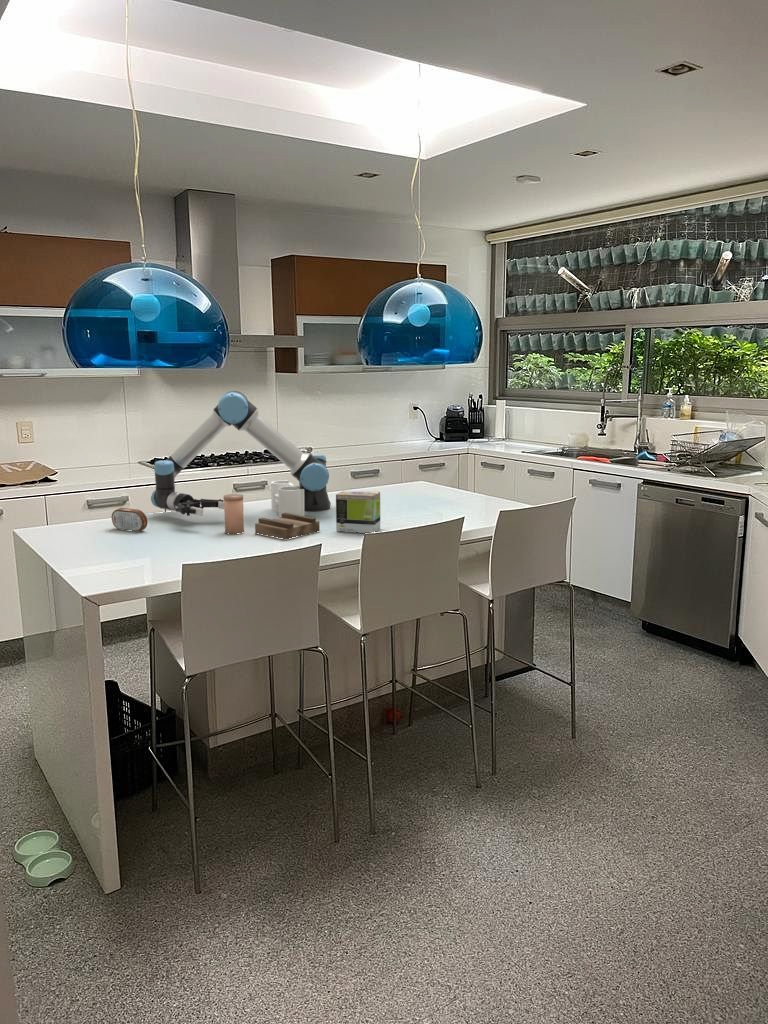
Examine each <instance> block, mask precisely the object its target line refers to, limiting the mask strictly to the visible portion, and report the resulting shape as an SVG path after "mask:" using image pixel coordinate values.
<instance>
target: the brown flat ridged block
mask: <svg viewBox="0 0 768 1024" xmlns="http://www.w3.org/2000/svg"><path fill="white" fill-rule="evenodd" d="M320 525H321V524H320V521H319V520H317V518H316V517H310V516H301V515H295V514H290V513H282V517H281V518H279V517H278V518H273V519H270V518H266V517H261V518H258V522H255V523H254V533H259V534H263V535H268V536H274V537H278V538H283V539H289V538H292V537H296V536H301V535H305V534H308V535H310V534H309V533H312V534H315V533H314V532H316V533H318V532H317V531H320V529H321V528H320ZM263 535H262V536H263ZM305 536H306V535H305ZM301 537H302V536H301Z"/></svg>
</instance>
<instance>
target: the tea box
mask: <svg viewBox="0 0 768 1024" xmlns="http://www.w3.org/2000/svg"><path fill="white" fill-rule="evenodd" d="M335 515H336V516H335V522H336V523H335V524H336V525H335V527H336V532H339V531H345V532H344V533H356V532H358V533H357V534H359V533H361V534H366V533H365V532H374V531H378V532H379V530H381V492H380V491H369V490H345V489H344V490H341V491H339V492H338V493H336V494H335Z"/></svg>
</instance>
